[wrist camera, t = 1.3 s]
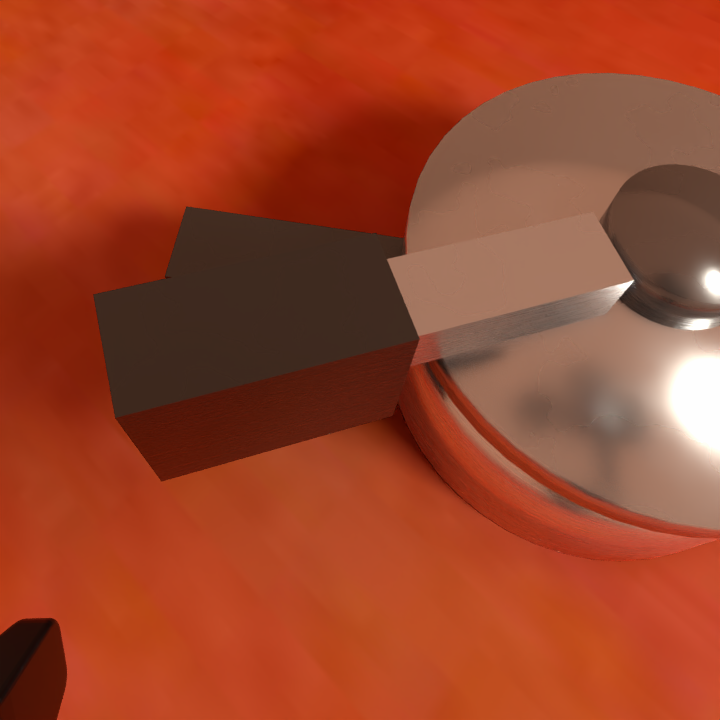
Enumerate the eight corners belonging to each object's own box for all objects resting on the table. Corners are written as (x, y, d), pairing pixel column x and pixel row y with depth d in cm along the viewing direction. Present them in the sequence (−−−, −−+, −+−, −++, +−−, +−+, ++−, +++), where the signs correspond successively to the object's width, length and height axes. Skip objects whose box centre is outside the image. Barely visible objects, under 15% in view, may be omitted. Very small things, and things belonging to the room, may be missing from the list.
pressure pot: (796, 239, 30) (892, 154, 25) (880, 598, 23) (1040, 578, 18) (234, 156, 29) (221, 52, 24) (140, 497, 22) (95, 447, 17)
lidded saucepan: (707, 95, 27) (786, -19, 23) (979, 455, 21) (1167, 395, 16) (107, 212, 22) (57, 93, 18) (213, 741, 15) (178, 769, 11)
